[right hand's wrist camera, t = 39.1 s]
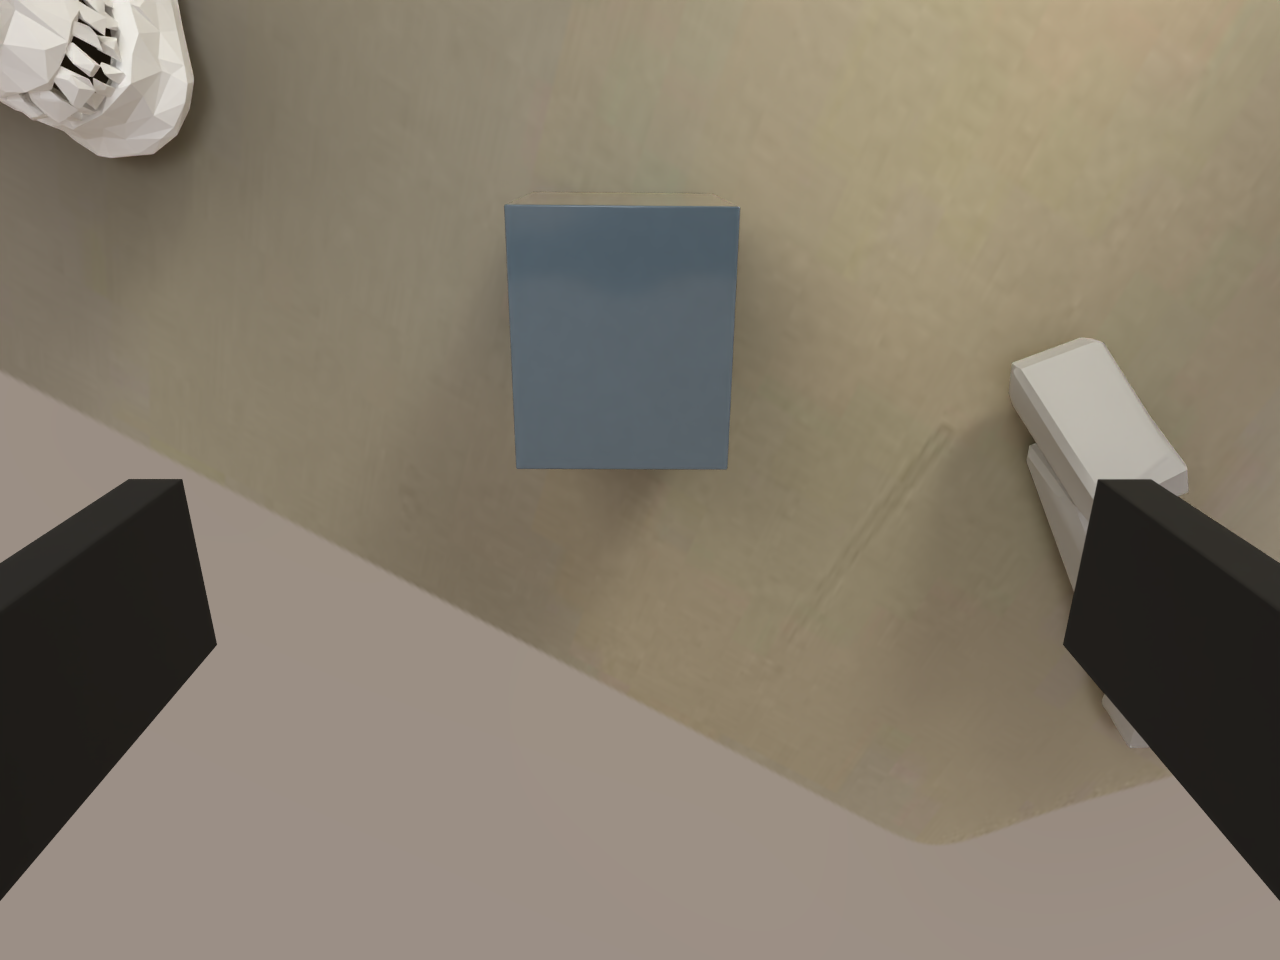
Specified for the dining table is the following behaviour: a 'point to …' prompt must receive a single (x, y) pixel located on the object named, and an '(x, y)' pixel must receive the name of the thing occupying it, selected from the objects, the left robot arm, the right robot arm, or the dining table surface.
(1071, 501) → the clamp
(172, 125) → the skull
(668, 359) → the blue-grey cube
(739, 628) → the dining table surface
